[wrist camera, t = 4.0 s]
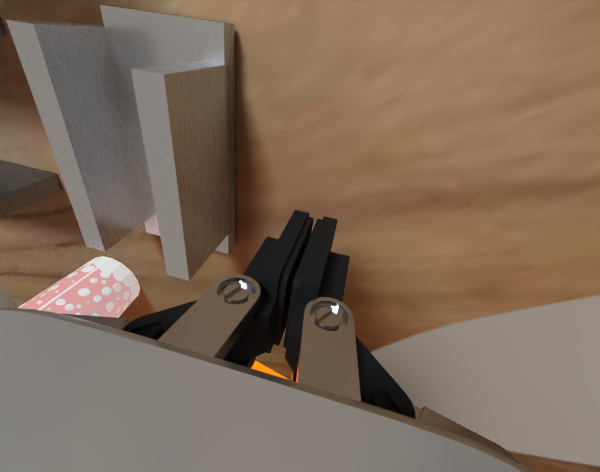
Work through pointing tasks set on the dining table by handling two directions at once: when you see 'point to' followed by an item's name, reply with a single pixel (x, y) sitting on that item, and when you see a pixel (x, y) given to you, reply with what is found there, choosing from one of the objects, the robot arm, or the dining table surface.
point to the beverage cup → (90, 291)
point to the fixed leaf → (23, 183)
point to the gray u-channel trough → (140, 126)
